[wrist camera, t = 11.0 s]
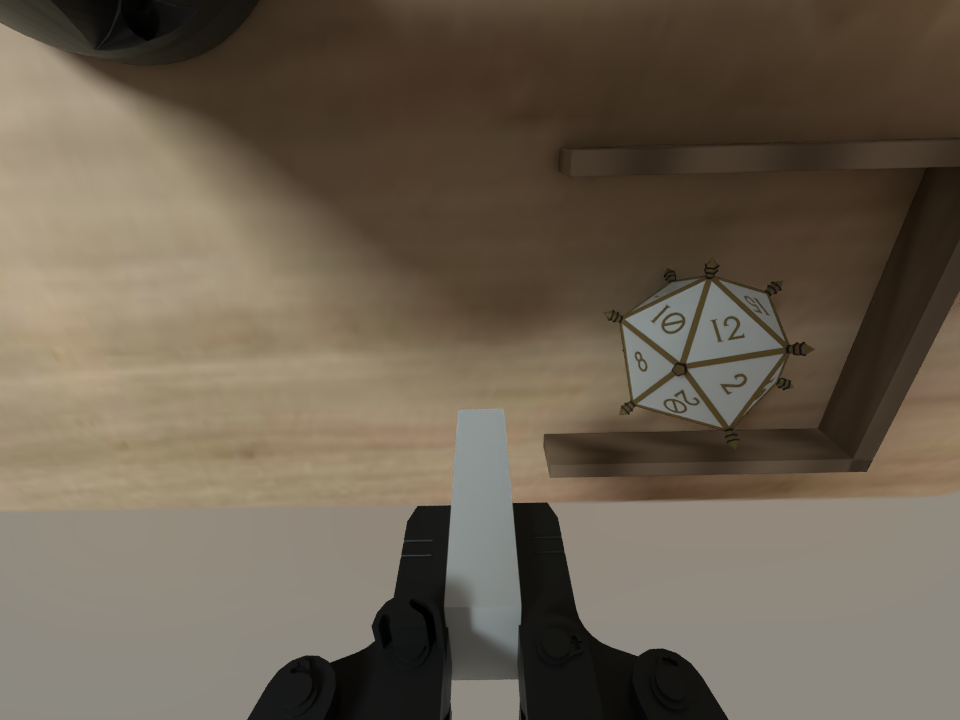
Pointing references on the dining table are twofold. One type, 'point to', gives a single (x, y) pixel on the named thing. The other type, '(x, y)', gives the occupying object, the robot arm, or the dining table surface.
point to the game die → (704, 350)
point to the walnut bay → (877, 348)
